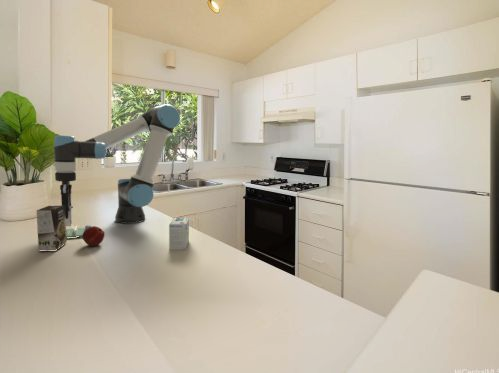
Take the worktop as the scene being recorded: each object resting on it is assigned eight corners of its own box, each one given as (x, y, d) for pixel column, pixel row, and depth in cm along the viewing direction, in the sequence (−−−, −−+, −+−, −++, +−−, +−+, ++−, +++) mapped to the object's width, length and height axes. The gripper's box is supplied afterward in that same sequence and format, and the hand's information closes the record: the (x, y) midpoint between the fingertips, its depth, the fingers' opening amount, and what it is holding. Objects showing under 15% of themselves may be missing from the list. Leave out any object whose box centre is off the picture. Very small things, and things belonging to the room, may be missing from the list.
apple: (99, 248, 110) (98, 229, 109) (78, 248, 109) (77, 228, 108) (107, 242, 117) (106, 224, 116) (88, 242, 116) (87, 223, 115)
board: (97, 229, 135) (96, 222, 134) (96, 236, 124) (96, 229, 124) (57, 232, 127) (56, 226, 127) (53, 240, 117) (52, 233, 116)
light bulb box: (173, 241, 122) (173, 217, 120) (189, 241, 122) (189, 217, 121) (168, 249, 111) (168, 223, 110) (185, 250, 112) (186, 224, 110)
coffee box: (57, 251, 105) (55, 210, 103) (38, 252, 104) (35, 210, 102) (67, 243, 114) (65, 205, 112) (50, 244, 113) (47, 205, 110)
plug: (71, 223, 126) (71, 204, 125) (70, 225, 123) (70, 206, 122) (62, 224, 124) (61, 204, 123) (61, 226, 121) (60, 206, 120)
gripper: (57, 170, 126) (59, 220, 129) (51, 173, 112) (54, 230, 114) (77, 170, 130) (78, 219, 133) (74, 173, 115) (75, 228, 118)
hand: (67, 224), depth 123 cm, fingers closed on plug, 4 cm apart
